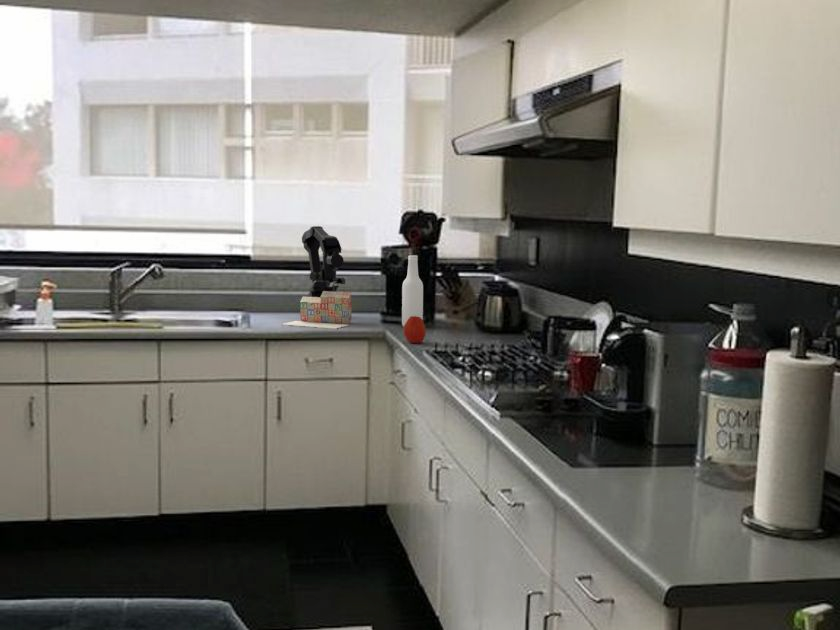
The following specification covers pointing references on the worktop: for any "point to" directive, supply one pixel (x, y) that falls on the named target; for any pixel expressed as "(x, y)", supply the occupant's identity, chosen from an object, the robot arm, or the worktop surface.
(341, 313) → the stack of blocks
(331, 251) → the robot arm
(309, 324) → the mat
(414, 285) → the alcohol
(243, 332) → the worktop surface
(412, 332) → the red oval lump
